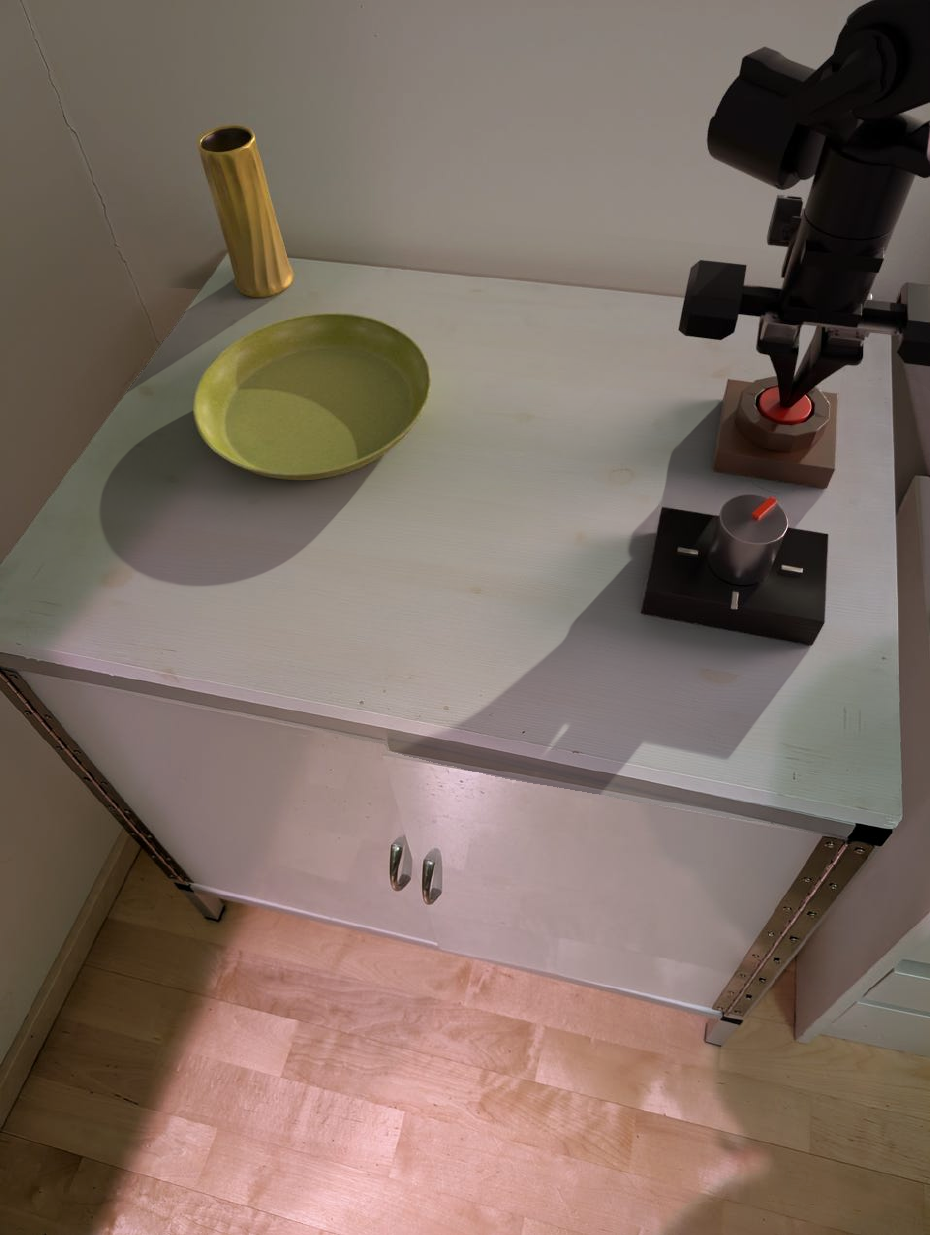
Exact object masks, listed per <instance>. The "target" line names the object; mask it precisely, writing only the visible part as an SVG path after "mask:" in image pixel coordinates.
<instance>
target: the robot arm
mask: <svg viewBox="0 0 930 1235" xmlns="http://www.w3.org/2000/svg"><path fill="white" fill-rule="evenodd" d="M928 104H930V0H870V1H868V2H866V3H864V4H862V5H859V6H858V7H857V8H856V9H855V10H854V11H852V12H851V13H850V14H849V15H848V16H847V17H846V20H845V23H844V25H843V27H842V29H841V30H840V32H839V34H838V36H837V39H836V43H835V46H834V50H833V53H832V54H831V55H830V56H829V57H828V58H827V59H826V60H825V61H824V62H823V63H822V64H821V65H820V66H819V67H818V68H817V69H815V68H813V67H810V66H808V65H804V64H802V63H800V62H796V61H794V60H791V59H789V58H788V57H786V56H785V55H783V54H782V53H781V52H779V51H777V50H775V49H772V48H771V47H768V46H762V47H761V48H758V49H756V50H754V51H753V52H750V53H748V54H746V55H744V56H743V57H742V59H741V63H740V69H739V74H738V75H737V76H736V78H735V79H734V80H733V81H732V83H731V84H730V85H729V87H728V88H727V89H726V91H725V92H724V94H723V95H722V97H721V99H720V101H719V104H718V105H717V107H716V110H715V113H714V115H712V117H710V120H709V123H708V128H707V136H706V146H707V151H708V154H709V155H710V156H711V157H712V158H713V159H714V160H715V161H718V162H719V163H723V164H725V165H726V166H729V167H731V168H733V169H735V170H737V171H739V172H741V173H743V174H745V175H747V176H750V177H751V178H754V179H756V180H757V181H758V180H759V181H761V182H762V183H765V184H767V185H768V186H772V187H774V188H775V189H778V190H781V191H785V190H790V189H791V188H793V187H795V186H796V185H797V184H798V183H800V182H801V181H807V180H809V179H811V178H812V177H813V178H812V182H811V185H810V189H809V193H808V196H807V200H806V203H805V206H804V199H803V197H802V196H796V195H795V196H794V195H784V194H777V196H776V199H775V202H774V206H773V210H772V213H771V217H770V221H769V226H768V230H767V235H766V244H767V246H774V247H784V248H787V249H786V253H785V256H784V260H783V263H782V267H781V274H780V278H783V281H782V284H781V288H780V287H773V286H772V287H770V286H763V285H755V284H754V285H753V284H745V280H746V272H747V267H748V266H747V264H741V263H733V262H724V261H723V262H722V261H714V260H705V259H699V260H698V261H697V262H696V263H694V264H693V265H692V266H691V267H690V269H689V275H688V279H687V284H686V289H685V294H684V298H683V304H682V308H681V314H680V319H679V324H678V331H679V332H680V333H681V334H682V335H683V336H685V337H691V338H700V339H705V340H713V341H714V340H715V341H722V340H724V339H726V338H728V337H730V336H731V335H733V334H735V331H736V327H737V323H738V319H739V315H741V316H749V317H757V318H759V321H758V329H757V337H756V344H755V350H756V352H758V353H759V354H760V355H765V356H769V359H770V361H771V364H772V367H773V370H774V373H775V376H777V381H778V389H779V397H780V406H781V407H788V408H791V407H793V406H794V405H795V404H796V403H797V402H798V401H799V400H800V399H802V398H803V397H804V396H805V395H806V394H807V393H808V392H810V391H811V390H812V389H813V388H814V387H817V386H818V385H820V383H822V382H823V381H825V380H826V379H828V378H829V377H831V376H832V375H834V374H835V373H837V372H838V371H840V370H842V369H843V368H844V367H846V366H853V367H855V366H859V365H860V364H861V363H862V362H863V359H864V344H865V340H866V338H869V335H870V334H879V335H887V336H899V335H901V338H900V339H899V341H898V344H897V346H896V353H897V355H898V356H899V357H900V359H901V361H902V362H903V363H904V364H907V365H916V366H923V367H930V284H929V283H928V284H927V283H918V282H908V281H906V282H904V283H903V284H902V285H901V286H900V288H899V291H898V294H897V296H896V298H895V302H891V301H884V300H875V299H874V300H873V295H872V293H871V290H872V288H873V285H874V282H875V281H876V278H877V275H878V274H879V273H880V271H881V268H882V265H883V263H884V261H885V255H886V252H887V249H888V247H889V244H890V241H891V239H892V237H893V234H894V231H895V229H896V226H897V223H898V222H899V219H900V217H901V213H902V211H903V208H904V206H905V204H906V201H907V198H908V196H909V193H910V191H911V189H912V186H913V183H914V180H915V178H916V176H917V177H920V178H922V179H929V178H930V119H929V120H923V119H921V118H918V117H916V116H913V115H910V114H908V113H906V112H909V111H912V110H914V109H918V108H920V107H923V106H925V105H928ZM802 326H810V327H811V326H813V327H815V330H814V333H813V335H812V338H811V341H810V342H809V344H808V347H807V349H806V351H805V353H804V356H803V358H802V360H801V362H800V363H799V365H798V368H797V364H798V359H799V354H800V342H801V341H800V339H801V329H802ZM796 369H797V371H796Z"/></svg>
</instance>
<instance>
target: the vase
mask: <svg viewBox="0 0 930 1235" xmlns="http://www.w3.org/2000/svg"><path fill="white" fill-rule="evenodd" d="M256 140H257V139H256V135H255V132H253V130H252V129H251V128H249V127H247V126H245V125H241V124H240V125H239V124H227V125H226V124H225V125H220V126H217V127H214V128H210V129H209V130H207V131H205V132H204V133H203V134H201V135H200V136H199V138H198V139H197V141H196V142H197V143H196V145H197V149H198V152H199V156H200V160H201V164H202V167H203V170H204V173H205V177H206V180H207V185H208V187H209V191H210V194H211V197H212V202H213V204H214V207H215V212H216V215H217V218H218V220H219V225H220V229H221V233H222V237H223V240H224V243H225V246H226V249H227V254H228V257H229V261H230V264H231V269H232V273H233V276H234V285H235V288H236V290H237V291H239V292H240V293H241V294H243V295H244V296H247V297H251V298H267V297H272V296H275V295H278V294H280V293H281V292H283V291H285V290H286V289H288V288H289V286H290V285H291V284H292V282H293V281H294V277H295V274H294V270H293V268H292V266H291V264H290V262H289V259H288V255H287V251H286V247H285V244H284V240H283V237H282V233H281V230H280V226H279V223H278V219H277V216H276V211H275V208H274V205H273V202H272V198H271V194H270V189H269V186H268V182H267V178H266V173H265V170H264V167H263V162H262V159H261V155H260V152H259V149H258V145H257V141H256Z"/></svg>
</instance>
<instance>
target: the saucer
mask: <svg viewBox="0 0 930 1235" xmlns="http://www.w3.org/2000/svg"><path fill="white" fill-rule="evenodd" d="M431 387H432V374H431V368H430V365H429V361H428V359H427V356H426V355H425V353H424V351H423V350H422V349H421V347H420V346H419V345H418V344H417V342H416V341H415V340H414V339H412V337H410V336H409V335H408V334H406V332H404V331H403V330H401V329H399V328H397V327H396V326H394V325H391V324H389V323H387V322H385V321H382V320H380V319H376V318H373V317H369V316H365V315H360V314H354V313H345V312H344V313H343V312H321V313H312V314H310V313H309V314H304V315H298V316H293V317H287V318H284V319H280V320H277V321H274V322H272V323H268V324H266V325H263V326H262V327H259V328H257V329H255V330H253V331H251V332H249V333H247V334H246V335H245V334H244V335H243V336H242V337H241V338H238V339H237V340H235V341H234V342H233V343H231V344H230V345H229V346H227V347H226V348H225V349H223V351H221V352H220V353H219V354H218V355H217V357H215V359H213V361H212V362H211V363H210V364H209V365H208V367H207V368H206V369H205V371H204V373H202V376H201V378H200V380H199V381H198V383H197V385H196V388H195V392H194V395H193V402H192V413H193V415H192V416H193V420H194V423H195V426H196V429H197V431H198V433H199V435H200V437H201V438H202V440H203V441H204V443H205V444H206V445H207V446H208V447H209V448H210V450H212V451H213V452H214V453H216V454H217V456H220V457H221V458H222V459H224V460H226V461H227V462H229V463H231V464H232V465H234V466H237V467H239V468H241V469H243V470H245V471H248V472H250V473H253V474H256V475H260V476H263V477H268V478H272V479H276V480H277V479H279V480H289V481H313V480H321V479H327V478H333V477H337V476H341V475H344V474H347V473H350V472H353V471H355V470H358V469H360V468H363V467H364V466H367V465H369V464H371V463H372V462H374V461H375V460H377V459H380V458H381V457H382V456H384V455H385V454H386V453H388V452H389V451H391V450H392V449H393V448H394V447H395V446H396V445H397V444H399V443H400V442H401V441H402V440H403V439H404V438H405V437H406V436H407V435H408V433H409V432H410V431H411V430H412V428H413V427H414V426H415V424H417V421H419V418H420V417H421V415H422V413H423V411H424V410H425V407H426V405H427V403H428V400H429V397H430V393H431V389H432V388H431Z"/></svg>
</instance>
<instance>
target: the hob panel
mask: <svg viewBox="0 0 930 1235" xmlns="http://www.w3.org/2000/svg"><path fill="white" fill-rule="evenodd" d="M718 518H719V515H717V514H716V515H715V514H709V513H703V512H698V511H697V512H696V511H691V510H685V509H678V508H672V507H666V506H661V508H660V512H659V517H658V522H657V525H656V526H657V527H656V531H655V537H654V542H653V547H652V553H651V556H650V557H651V558H650V563H649V568H648V573H647V580H646V585H645V589H644V595H643V600H642V604H641V610H640V614H641V615H646V616H652V617H657V618H662V619H667V620H671V621H678V622H684V623H687V624H688V623H689V624H694V625H699V626H703V627H704V626H705V627H709V628H715V629H720V630H726V631H731V632H736V633H740V634H746V635H752V636H756V637H762V638H767V639H773V640H778V641H783V642H789V643H792V644H793V643H794V644H800V645H804V646H810V647H812V646H813V645H814V643H815V642H816V640H817V638H818V636H819V634H820V633H821V630H822V629H823V627H824V625H825V623H826V608H827V607H826V605H827V583H828V580H827V579H828V559H829V558H828V557H829V533H825V532H819V531H812V530H806V529H801V528H794V527H787V530H786V533H785V535H784V538H783V540H782V542H781V545H780V547H779V550H778V552H777V555H776V557H775V560H774V562H773V565H772V567H771V569H770V572H769V574H768V575H767V576H766V577H765V578H764V579H763V580H761V581H760V582H757V583H755V584H750V585H737V584H732V583H729V582H727V581H725V580H723V579H721V578H720V577H718V576H717V575H716V574H715V573H714V572H713V571H712V569H711V568H710V566H709V563H708V552H709V548H710V545H711V542H712V538H713V535H714V531H715V528H716V525H717V521H718Z"/></svg>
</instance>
